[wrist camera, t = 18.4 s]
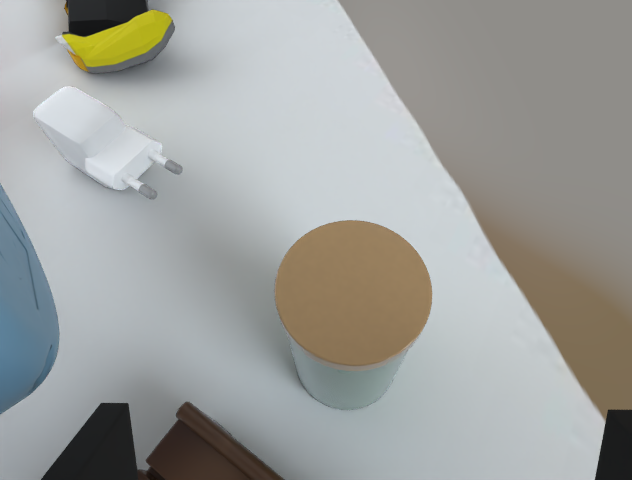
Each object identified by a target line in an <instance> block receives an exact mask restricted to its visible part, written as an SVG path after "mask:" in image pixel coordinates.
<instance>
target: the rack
mask: <svg viewBox="0 0 632 480" xmlns="http://www.w3.org/2000/svg"><path fill="white" fill-rule="evenodd" d="M176 417H177V418H178V420H177V421H176V423H175V424H174V425H173V426H172V428H171V429H170V430H169V431H168V433H167V434H166V435H165V436H164V438H163V439H162V440H161V442H160V443H159V444H158V445H157V447H156V448H155V449H154V450H153V452H152V453H151V454H150V455H149V457H148V458H147V459H146V462H147V463H148V464H149V465H150V468H149V469H148V470H147V471H145V470H137V472H138V480H285V479H283V478H282V477H281V476H280V475H278V474H277V473H276V472H275V471H274V470H272V469H271V468H270V467H269V466H267V465H266V464H265V463H264V462H263V461H261V460H260V459H259V458H258V457H256V456H255V455H254V454H253V453H252V452H250V451H249V450H248V449H247V448H245V447H244V446H243V445H242V444H241V443H239V442H238V441H237V440H236V439H234V438H233V437H232V435H231V434H230V433H229V432H228V431H226V430H225V429H224V428H223V427H221V426H220V425H219V424H218V423H217V422H215V421H214V420H213V419H211V418H210V417H209V416H207V415H206V414H204V413H203V412H201V411H200V410H199V409H198V408H196V407H195V406H194V405H193V404H192V403H190V402H185V403H184V404H183V405H182V406H181V407H180V408H179V410H178V411H177V413H176Z"/></svg>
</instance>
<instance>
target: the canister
mask: <svg viewBox="0 0 632 480" xmlns="http://www.w3.org/2000/svg"><path fill="white" fill-rule="evenodd" d="M274 292H275V303H276V308H277V312H278V315H279V318H280V321H281V324H282V326H283V328H284V330H285V332H286V334H287V336H288V340H289V343H290V347H291V351H292V355H293V359H294V362H295V366H296V370H297V373H298V376H299V379H300V381H301V383H302V385H303V386H304V387H305V389H306V390H307V391H308V393H309V394H310V395H311V396H312V397H314V398H315V399H316V400H318V401H319V402H321V403H322V404H324V405H326V406H329V407H332V408H335V409H341V410H354V409H359V408H363V407H365V406H368V405H370V404H372V403H374V402H375V401H377V400H378V399H379V398H380V397H381V396H382V395H383V394H384V393H385V392H386V391H387V390H388V388H389V387H390V385H391V383H392V381H393V379H394V377H395V375H396V373H397V371H398V369H399V367H400V365H401V363H402V361H403V359H404V358H405V356H406V354H407V352H408V350H409V349H410V348H411V347H412V346H413V344H414V343H415V342H416V340H417V339H418V337H419V336H420V334H421V332H422V330H423V328H424V326H425V324H426V322H427V320H428V317H429V314H430V310H431V305H432V286H431V281H430V276H429V273H428V271H427V268H426V266H425V264H424V262H423V260H422V258H421V257H420V256H419V254H418V253H417V251H416V250H415V249H414V248H413V247H412V246H411V245H410V244H409V243H408V242H407V241H406V240H405V239H404V238H402V237H401V236H400V235H398V234H397V233H395V232H393V231H391V230H389V229H387V228H385V227H383V226H380V225H377V224H374V223H370V222H364V221H352V220H347V221H338V222H333V223H329V224H326V225H323V226H320V227H318V228H316V229H314V230H312V231H310V232H308V233H307V234H305V235H304V236H303V237H301V238H300V239H299V240H298V241H297V242H296V243H295V244H294V245H293V246H292V247H291V248H290V249H289V251H288V252H287V253H286V255H285V256H284V258H283V260H282V262H281V264H280V266H279V269H278V271H277V275H276V280H275V289H274Z"/></svg>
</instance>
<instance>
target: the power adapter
mask: <svg viewBox="0 0 632 480" xmlns="http://www.w3.org/2000/svg"><path fill="white" fill-rule="evenodd" d="M33 116H34V119H35V121H36V122H37V124H38V125H39V126H40V128H41V129H42V130H43V132H44V133H45V134H46V136H47V137H48V138H49V140H50V141H51V142H52V143H53V145H54V146H55V147H56V149H57V150H58V151H59V152H60V154H61V155H62V156H63V157H64V158H65V160H66V161H68V162H69V163H70V164H72V165H73V166H75V167H76V168H78V169H79V170H80V171H82V172H83V173H85V174H87V175H88V176H90V177H91V178H93V179H94V180H96V181H97V182H99V183H100V184H102V185H104V186H106V187H107V188H113V189H116V190H124V189H126V188H127V187H129V186H131V187H133V188H134V189H136V190H137V191H139V193H141V194H143V195H144V196H146V197H147V198H149V199H151V200H152V199H155V198H156V197H157V192H156V191H155V190H154V189H152V188H150V187H149V186H147V185H146V184H143V183H142V182H140V181H139V180H137V178H138V177H139V176H140V175H142V174H143V173H144V172H145V171H146V170H147V169H148V168H149V167H150V166H151V165H152V164H153V163H154V162H157V163H159V164H160V165H162V166H164V167H165V168H166V169H168V170H169V171H171V172H173V173H174V174H177V175H178V174H180V173H181V172H182V167H181V166H180V165H179V164H177V163H175V162H173V161H172V160H169V159H168V158H166V157H164V156H162V155H161V151H162V143H160V142H159V141H157V140H155V139H154V138H152V137H150V136H148V135H147V134H145V133H143V132H142V131H140V130H138V129H136V128H134V127H132V126H128V125H125V123H124V122H123V120H122V119H121V117H120V116H119V115H118V114H117V113H116V112H115V111H114V110H113V109H111V108H110V107H108V106H107V105H105V104H103V103H102V102H100V101H98V100H97V99H95V98H93V97H91V96H90V95H88V94H86V93H84V92H83V91H81V90H79V89H77V88H75V87H63V88H62V89H60V90H58V91H57V92H56V93H54V94H53V95H51V96H50V97H49V98H48V99H46V100H45V101H44V102H42V103H41V104H40V105H39V106H38V107H37V108H36V109H35V110H34V113H33Z"/></svg>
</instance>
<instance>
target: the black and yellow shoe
mask: <svg viewBox="0 0 632 480" xmlns="http://www.w3.org/2000/svg"><path fill="white" fill-rule="evenodd" d="M66 1H67V2H66V4H65V8H64V9H65V11H66V13H67V15H68V24H69V32H63V33H62V34H61V35H59V36H56V38H55V39H56V40H57V41H58V42H59V43H60V44H61V45H62V46H64V47H65V48H66V49H67V50H68V52H69V54H70V55H71V57H72V59H73V60H74V62H75V64H76V65H77V66H78V67H79V68H80V69H82V70H85V71H87V72H90V73H106V72H113V71H120V70H123V69H125V68H128V67H131V66H135V65H138V64H141V63H144V62H147V61H150V60H153V59H154V58H155V57H156V56H157V55H158V54H159V53H160V52H161V51H162V50H163V49H164V48H165V46H166V45H167V43H168V41H169V39H170V38H171V36H172V34H173V32H174V30H175V26H174V23H173V20H172V19H171V17H170V16H169V15H168V14H167V13H164V12H160V11H156V10H150V11H149V10H148V0H66Z"/></svg>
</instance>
